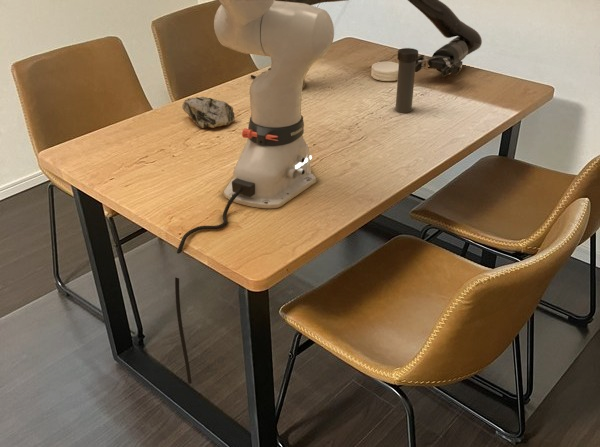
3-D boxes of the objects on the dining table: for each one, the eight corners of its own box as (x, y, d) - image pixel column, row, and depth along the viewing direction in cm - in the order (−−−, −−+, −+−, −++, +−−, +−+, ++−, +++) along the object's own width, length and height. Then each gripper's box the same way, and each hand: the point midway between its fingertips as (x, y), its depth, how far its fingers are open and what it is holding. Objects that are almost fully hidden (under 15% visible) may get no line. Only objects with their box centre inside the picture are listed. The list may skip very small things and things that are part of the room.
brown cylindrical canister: (406, 114, 174) (411, 56, 165) (392, 110, 176) (396, 53, 167) (414, 109, 177) (419, 52, 168) (400, 105, 179) (405, 49, 170)
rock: (239, 121, 170) (237, 97, 166) (209, 132, 164) (207, 107, 160) (207, 109, 179) (204, 85, 175) (178, 118, 173) (174, 94, 169)
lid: (411, 63, 165) (412, 55, 164) (393, 59, 168) (394, 51, 167) (421, 58, 169) (422, 50, 168) (403, 54, 172) (404, 46, 170)
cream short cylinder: (368, 72, 203) (368, 61, 202) (398, 70, 204) (398, 60, 202) (374, 82, 195) (374, 71, 193) (405, 81, 196) (406, 70, 194)
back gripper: (428, 42, 199) (407, 55, 187) (471, 48, 192) (453, 62, 181) (425, 65, 203) (405, 79, 191) (468, 72, 196) (450, 87, 185)
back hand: (428, 71), depth 186 cm, fingers open, 8 cm apart
